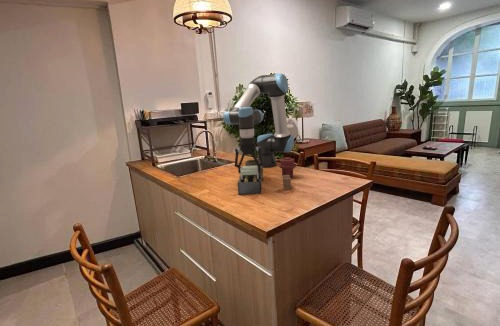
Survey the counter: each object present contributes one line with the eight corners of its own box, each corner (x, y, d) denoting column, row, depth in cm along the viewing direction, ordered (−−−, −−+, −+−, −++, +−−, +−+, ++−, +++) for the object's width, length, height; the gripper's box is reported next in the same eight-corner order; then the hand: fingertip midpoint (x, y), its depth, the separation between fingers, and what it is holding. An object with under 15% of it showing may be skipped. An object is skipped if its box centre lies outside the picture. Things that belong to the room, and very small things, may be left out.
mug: (262, 183, 160) (261, 163, 157) (244, 183, 162) (243, 163, 159) (265, 175, 175) (264, 157, 172) (249, 176, 177) (248, 157, 174)
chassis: (240, 185, 157) (240, 174, 156) (261, 184, 156) (261, 173, 155) (238, 194, 141) (237, 182, 140) (261, 194, 141) (260, 181, 139)
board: (242, 169, 153) (242, 166, 152) (257, 169, 152) (256, 165, 152) (241, 175, 141) (240, 171, 141) (256, 174, 140) (256, 170, 140)
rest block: (283, 185, 152) (282, 175, 151) (289, 185, 152) (289, 174, 151) (284, 189, 145) (283, 179, 143) (291, 189, 144) (290, 178, 143)
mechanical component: (298, 176, 169) (291, 180, 161) (284, 174, 175) (276, 178, 167) (298, 156, 166) (290, 160, 158) (284, 155, 172) (275, 158, 164)
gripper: (226, 139, 140) (229, 181, 144) (267, 136, 138) (269, 179, 143) (228, 137, 147) (231, 177, 152) (267, 135, 145) (269, 176, 150)
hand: (249, 178), depth 147 cm, fingers closed on board, 8 cm apart
